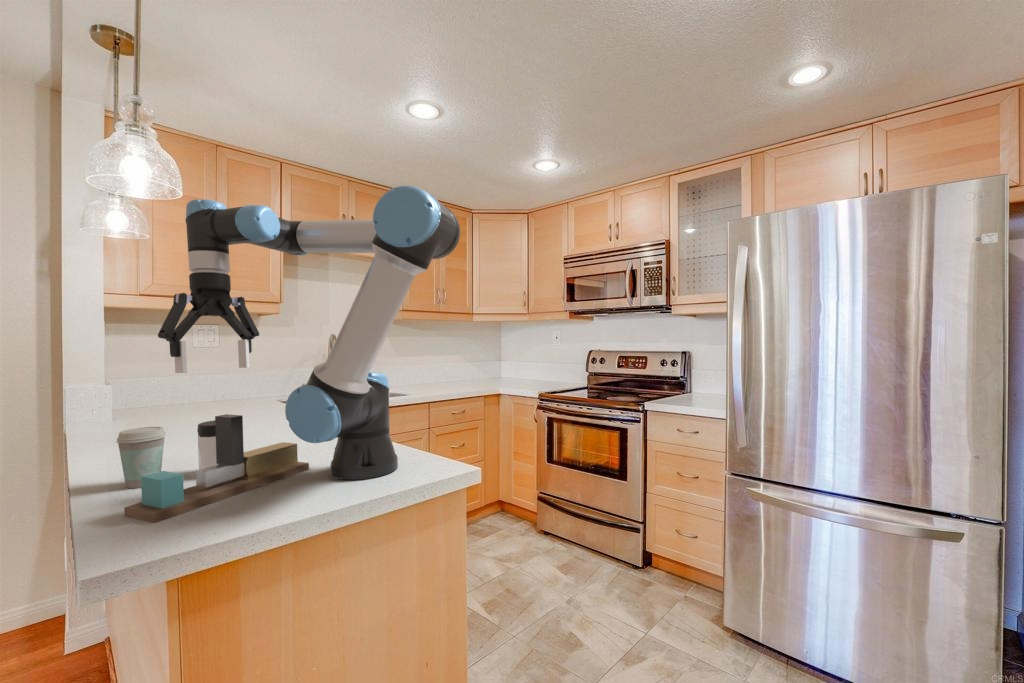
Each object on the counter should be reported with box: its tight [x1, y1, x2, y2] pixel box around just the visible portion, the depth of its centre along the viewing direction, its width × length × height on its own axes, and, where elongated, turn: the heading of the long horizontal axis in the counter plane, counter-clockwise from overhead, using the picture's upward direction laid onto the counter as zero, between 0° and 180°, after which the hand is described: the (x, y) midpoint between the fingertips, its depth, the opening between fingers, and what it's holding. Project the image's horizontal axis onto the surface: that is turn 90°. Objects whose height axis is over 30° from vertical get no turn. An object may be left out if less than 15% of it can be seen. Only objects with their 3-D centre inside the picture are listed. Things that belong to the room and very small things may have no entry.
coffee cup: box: [115, 426, 167, 489], centre depth 100 cm, size 8×8×12 cm
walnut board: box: [123, 461, 310, 523], centre depth 95 cm, size 33×9×2 cm, turn 157°
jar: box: [197, 420, 218, 470], centre depth 107 cm, size 9×8×12 cm
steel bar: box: [195, 413, 246, 487], centre depth 99 cm, size 20×5×13 cm, turn 157°
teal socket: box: [141, 470, 185, 509], centre depth 83 cm, size 4×6×5 cm, turn 67°
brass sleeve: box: [237, 441, 299, 480], centre depth 103 cm, size 13×5×5 cm, turn 157°
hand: (214, 370), depth 99 cm, fingers open, 13 cm apart
